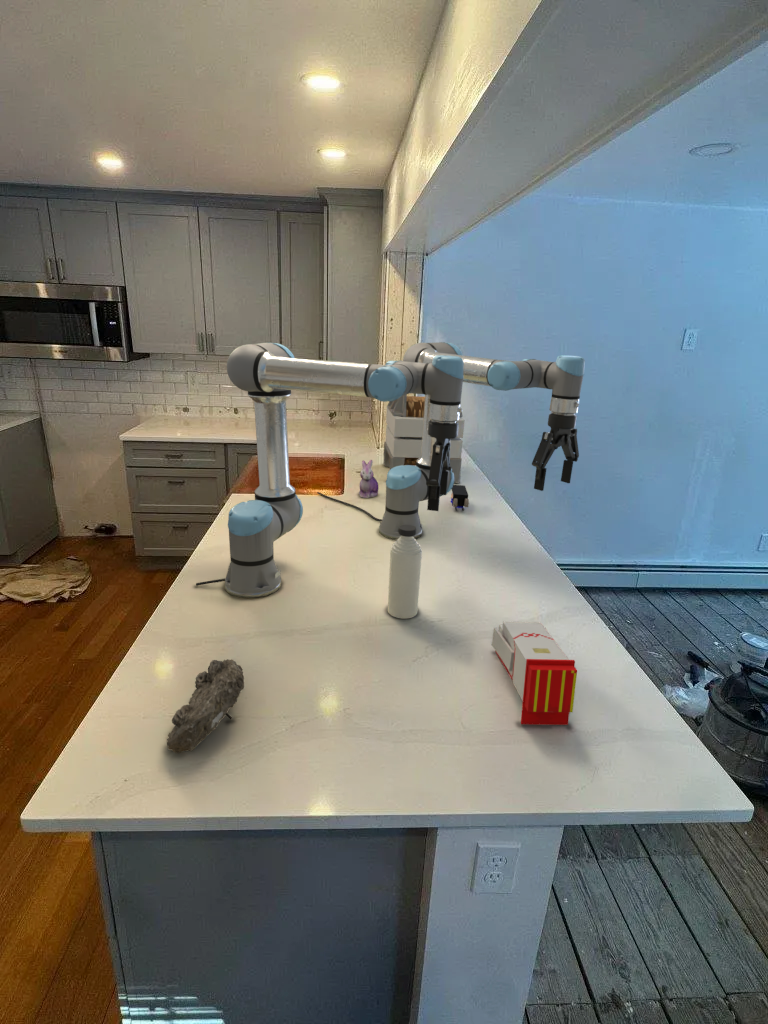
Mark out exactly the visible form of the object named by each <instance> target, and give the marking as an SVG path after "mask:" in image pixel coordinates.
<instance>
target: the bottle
mask: <svg viewBox="0 0 768 1024" xmlns="http://www.w3.org/2000/svg"><path fill="white" fill-rule="evenodd" d="M422 555H423V549H422V547H421V544H420V543H419V542H418V540H416V538H414V537H413V536H412V537H405V536H401V537H399V539H397V540H395V541H394V542H393V543H392V544H391V547H390V557H389V574H388V591H387V592H388V594H387V596H388V597H387V613H388V614H389V615H390V616H391V617H394V618H396V619H405V620H406V619H410V618H414V617H416V616H417V615H418V609H419V597H420V583H421V581H420V580H421V571H422V570H421V568H422V557H423V556H422Z"/></svg>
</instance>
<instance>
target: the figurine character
mask: <svg viewBox="0 0 768 1024" xmlns="http://www.w3.org/2000/svg"><path fill="white" fill-rule="evenodd" d="M449 502H450V504H451V506H452V507H453V508H454V511H456V512H457V511H458V509H461V511H462V512H464V511H465V508H469V505H470V500H469V492H468V490H467V488H466V485H464V484H463V485H461V484H453V487H452V489H451V494H450V501H449Z"/></svg>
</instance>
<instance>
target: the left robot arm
mask: <svg viewBox="0 0 768 1024" xmlns="http://www.w3.org/2000/svg"><path fill="white" fill-rule="evenodd" d="M463 367H464V361H463V359H462V358H460V357H457V356H444V355H438V356H435V357H434V358H433V361H432V363H416V362H406V361H403V360H388V361H387V362H385V364H375V363H374V364H373V363H362V362H361V363H360V362H349V361H337V360H335V361H334V360H323V359H312V358H311V359H309V358H298V357H295V355H294V354H293V352H292V351H291V350H290V349H289V348H288V347H286V346H285V345H284V344H281V343H277V342H261V343H260V342H259V343H252V344H249V343H248V344H243V345H240V346H238V347H236V348H235V349H233V351H231V353H230V354H229V356H228V358H227V361H226V372H227V376H228V378H229V380H230V381H231V383H232V384H233V386H235V387H236V388H238V389H239V390H240V391H241V390H242V391H244V392H247V396H248V397H249V398H250V399H251V400H252V401H253V406H254V408H253V409H254V422H255V424H254V425H255V436H256V452H257V453H256V454H257V466H258V467H257V468H258V482H259V483H258V486H257V487H256V488H255V489H254V499H250V500H249V499H248V500H246V501H241V502H239V503H237V504H235V505H234V506H233V507H231V508H230V510H229V512H228V519H227V529H228V540H229V541H228V543H229V556H230V558H229V561H230V562H229V565H228V568H227V572H226V575H225V578H219V579H218V578H217V579H212V580H207V581H199V582H196V583H195V586H196V587H197V586H203V585H209V584H215V583H221V582H224V589H225V592H227V593H228V594H230V595H232V596H233V597H236V598H243V599H257V598H262V597H266V596H270V595H272V594H274V593H276V592H277V591H278V590H279V589H280V588H281V586H282V578H281V569H278V566H277V564H276V562H275V558H274V557H275V555H274V554H275V553H274V542H275V541H277V540H278V539H280V538H281V537H282V536H284V535H285V534H287V533H289V532H291V531H293V530H294V529H295V527H297V525H298V524H299V523H300V522H301V520H302V518H303V515H304V514H303V513H304V506H303V503H302V500H301V498H299V497H298V495H297V494H296V492H297V491H296V488H295V486H293V485H292V484H291V481H290V479H291V478H290V462H289V461H290V460H289V459H290V457H289V438H288V437H289V436H288V415H287V400H288V399H289V398H290V396H292V391H298V392H306V393H307V392H308V393H319V394H329V395H341V396H352V397H362V398H363V397H364V398H371V399H375V400H377V401H379V402H382V403H383V402H384V403H386V402H387V403H388V402H389V401H394V400H396V399H398V398H400V397H402V396H404V395H407V396H408V395H409V394H413V395H424V396H425V395H430V406H429V418H430V419H431V420H430V421H429V422H428V435H429V436H430V437H434V438H436V442H435V444H433V452H432V460H431V467H430V474H429V480H428V482H426V485H429V494H428V500H427V508H426V511H433V512H439V509H440V495H443V496H447V494H448V493H447V481H448V471H451V467H449V465H450V446H451V444H450V439H453V438H456V437H457V436H458V428H459V423H458V422H456V421H458V420H459V415H460V413H459V412H462V413H463V408H461V403H462V392H463V384H464V382H463V378H464V376H463ZM459 407H460V408H459ZM446 470H448V471H446ZM433 480H436V481H433ZM446 493H447V494H446Z"/></svg>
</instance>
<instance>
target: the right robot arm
mask: <svg viewBox="0 0 768 1024" xmlns="http://www.w3.org/2000/svg"><path fill="white" fill-rule="evenodd" d="M438 355H444V356H457V357H460V358H462V359H463V361H464V367H463V376H464V378H463V383H465V384H473V385H479V386H487V387H491V388H492V389H494V390H496V391H503V392H504V391H511V390H520V389H532V388H533V389H534V388H539V389H546V390H551V398H550V404H549V413H548V418H547V419H548V420H547V426H548V427H549V428H550V431H549V432H548V431H543V432H542V435H541V440H540V442H539V445H538V447H537V449H536V452H535V454H534V457H533V460H532V461H531V466H533V467H535V475H534V477H535V478H534V485H533V489H534V490H537V491H539V492H543V491H544V489H545V484H546V483H545V482H546V476H547V468H546V466H547V465H548V463H549V461H550V459H551V457H552V456H553V454H554V453H555V451H556V450H557V449H558V448H560V447H561V449H562V452H563V455H564V458H565V459H563V463H562V468H561V469H562V470H561V475H560V482H562V483H566V484H571V478H572V472H573V466H574V463H576V462H578V461H579V457H580V453H579V444H578V428H576V423H577V419H578V416H577V414H578V412H579V411H578V410H579V406H580V397H581V391H582V385H583V380H584V376H585V365H586V360H585V358H584V357H582V356H578V355H566V354H565V355H564V354H563V355H558V356H557V357H556V360H555V361H549V360H541V359H536V358H524V359H521V360H506V359H505V360H504V359H503V360H502V359H496V358H487V357H479V356H471V355H464V354H463V352H462V350H461V349H460V347H459V346H457V345H456V344H455V343H451V342H445V341H443V342H442V341H441V342H440V341H439V342H438V341H437V342H417V343H414V344H412V345H411V346H409V347H408V348H407V350H406V351H405V353H404V355H403V358H402V361H406V362H416V363H432V361H433V358H434V357H435V356H438ZM424 397H425V404H424V419H423V434H422V449H421V457H420V458H418V459H417V461H416V466H413V465H401V466H396V467H394V468H392V469H390V468H389V470H388V472H387V474H386V479H385V504H384V505H385V507H384V508H385V509H384V513H383V515H382V519H381V518H377V517H375V516H373V515H372V514H371V513H370V512H369V511H367V510H365V509H363V508H361V507H359V506H356V505H354V504H352V503H348V502H346V501H343V500H339V499H337V498H334V497H330V496H328V495H326V494H323V493H321V492H319V491H317V492H316V494H318V495H320V496H322V497H324V498H327V499H329V500H330V501H331V500H332V501H335V502H338V503H340V504H343V505H346V506H349V507H352V508H355V509H357V510H359V511H362V513H365V514H367V515H368V516H369V517H370V518H372V519H373V520H375V521H378V522H379V526H378V533H379V534H380V535H381V536H382V537H385V538H387V539H389V540H395V541H397V539H399V537H401V535H400V534H399V533H398V532H399V526H401V525H413V526H415V527H416V535H415V536H413V537H414V538H415V539H418V538H420V537H421V536H422V535H423V523H422V522H421V518H420V515H419V507H420V506H419V505H420V502H423V501H428V494H429V485H426V482H428V480H429V474H430V467H431V460H432V452H433V444H435V442H436V438H434V437H430V436H429V435H428V422H429V421H430V420H431V419H430V418H429V406H430V395H424ZM449 467H450V466H449ZM446 471H448V470H446ZM433 481H436V480H433ZM453 485H455V483H454V473H452V469H451V471H448V481H447V493H446V495H448V493H450V492H451V491H452V487H453ZM443 496H444V495H440V497H443Z"/></svg>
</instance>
